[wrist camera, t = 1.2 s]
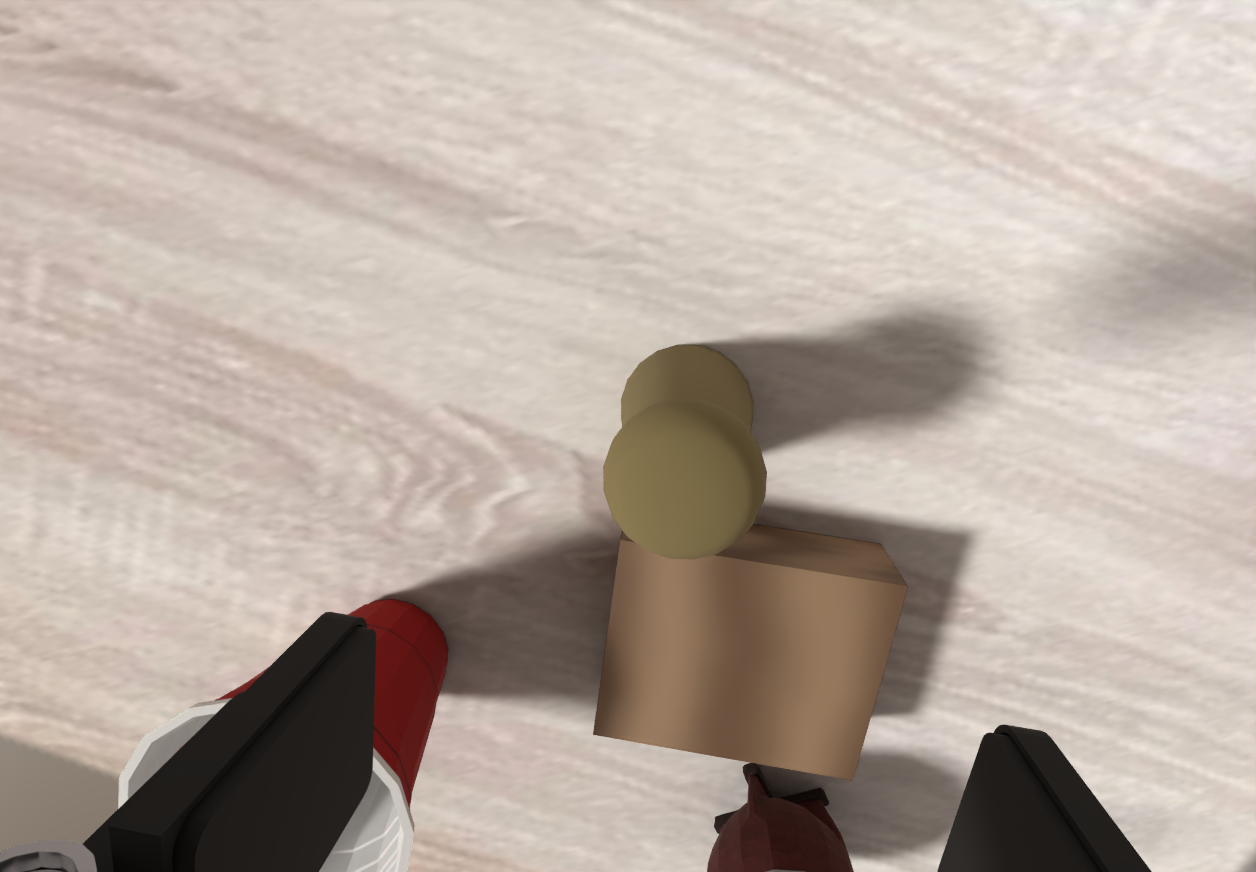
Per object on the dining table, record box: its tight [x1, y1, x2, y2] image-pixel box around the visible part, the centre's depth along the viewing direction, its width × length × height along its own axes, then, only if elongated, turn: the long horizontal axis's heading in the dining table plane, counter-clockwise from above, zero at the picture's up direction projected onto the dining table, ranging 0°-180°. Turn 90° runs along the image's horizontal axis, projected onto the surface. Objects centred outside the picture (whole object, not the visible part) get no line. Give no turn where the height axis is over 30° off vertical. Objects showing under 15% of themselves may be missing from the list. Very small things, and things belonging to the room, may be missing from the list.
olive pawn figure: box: [604, 345, 767, 560], centre depth 25 cm, size 6×6×11 cm
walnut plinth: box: [593, 524, 908, 781], centre depth 31 cm, size 12×10×4 cm
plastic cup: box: [118, 599, 448, 872], centre depth 29 cm, size 11×11×12 cm
